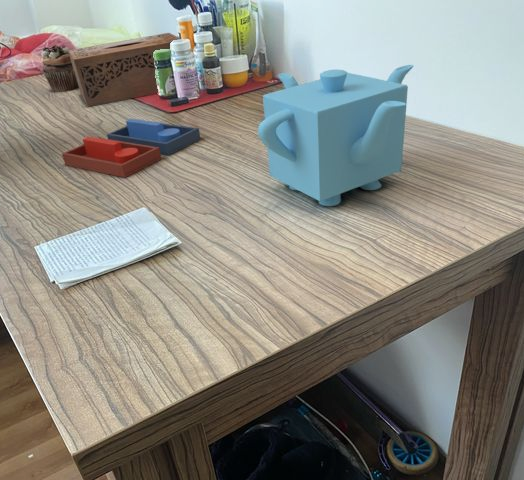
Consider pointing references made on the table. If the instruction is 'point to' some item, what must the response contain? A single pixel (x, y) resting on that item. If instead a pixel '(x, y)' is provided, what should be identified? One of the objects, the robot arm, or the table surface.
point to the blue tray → (166, 148)
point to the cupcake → (59, 69)
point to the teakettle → (335, 132)
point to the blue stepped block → (151, 130)
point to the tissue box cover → (118, 68)
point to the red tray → (81, 160)
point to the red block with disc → (108, 150)
